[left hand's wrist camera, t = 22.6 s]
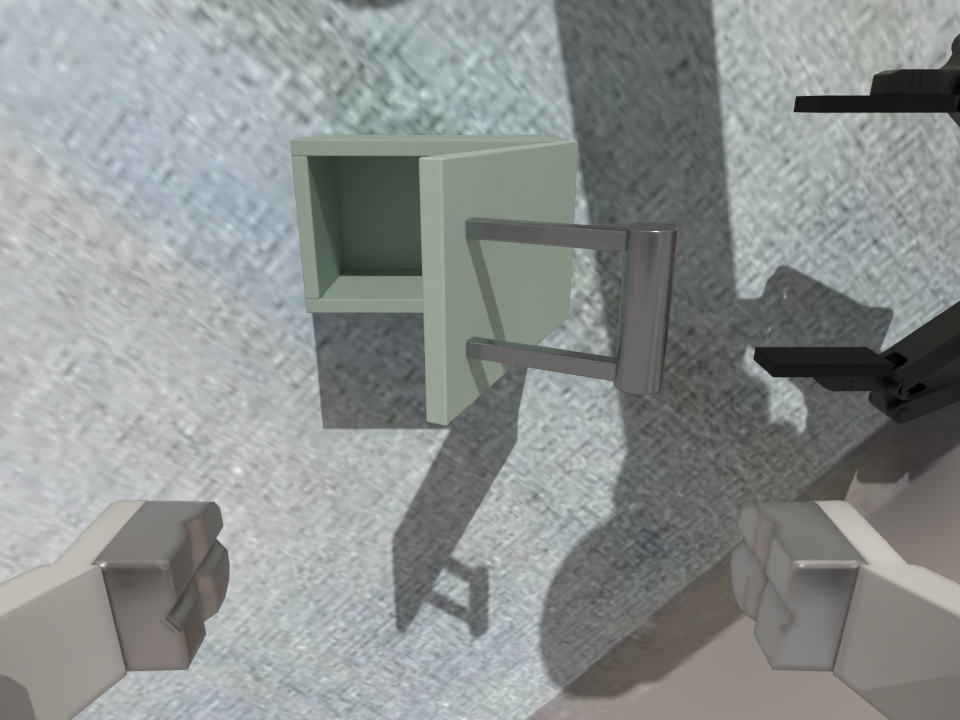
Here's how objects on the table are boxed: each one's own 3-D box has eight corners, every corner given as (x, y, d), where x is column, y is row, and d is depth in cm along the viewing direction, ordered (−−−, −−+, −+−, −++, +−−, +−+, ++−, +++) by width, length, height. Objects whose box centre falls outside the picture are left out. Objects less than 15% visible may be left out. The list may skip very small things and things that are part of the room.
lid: (425, 422, 25) (644, 468, 22) (417, 157, 22) (675, 165, 18) (554, 315, 38) (702, 334, 35) (562, 140, 35) (726, 143, 32)
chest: (336, 277, 47) (306, 313, 38) (325, 134, 43) (289, 139, 35) (546, 278, 47) (560, 313, 38) (552, 135, 43) (569, 140, 35)
